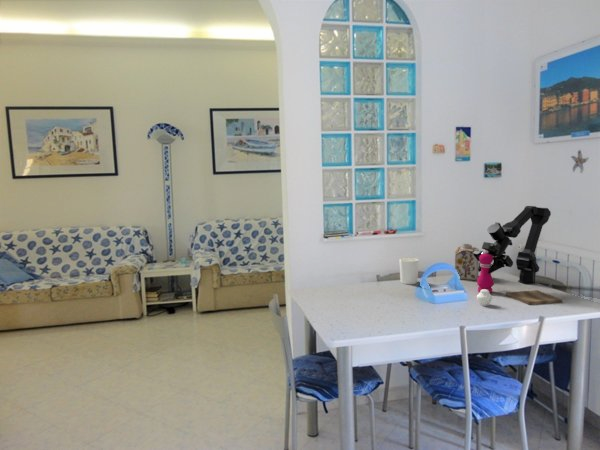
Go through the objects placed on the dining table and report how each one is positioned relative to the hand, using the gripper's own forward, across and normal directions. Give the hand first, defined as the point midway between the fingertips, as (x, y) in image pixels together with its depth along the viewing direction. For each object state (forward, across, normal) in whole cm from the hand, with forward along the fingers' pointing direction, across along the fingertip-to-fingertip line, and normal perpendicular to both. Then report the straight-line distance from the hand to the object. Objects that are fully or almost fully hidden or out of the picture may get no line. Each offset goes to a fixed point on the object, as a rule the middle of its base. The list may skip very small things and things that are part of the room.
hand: (483, 272), depth 212 cm
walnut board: (0, +19, +13) cm, 23 cm away
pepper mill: (+6, 0, +8) cm, 10 cm away
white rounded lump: (+18, +14, -5) cm, 23 cm away
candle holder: (+18, -34, -4) cm, 38 cm away
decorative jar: (-6, -25, +20) cm, 32 cm away
